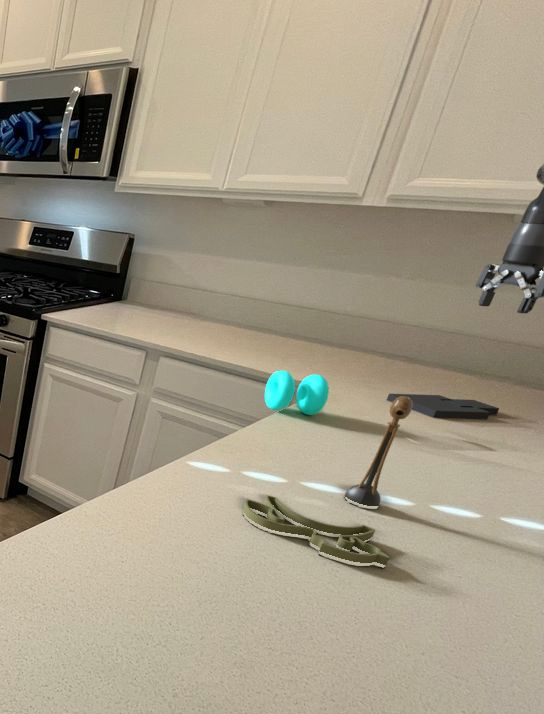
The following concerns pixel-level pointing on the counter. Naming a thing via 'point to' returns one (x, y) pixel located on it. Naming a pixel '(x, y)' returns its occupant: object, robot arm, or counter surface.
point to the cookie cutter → (344, 541)
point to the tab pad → (474, 405)
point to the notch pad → (441, 407)
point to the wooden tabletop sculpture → (380, 456)
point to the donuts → (308, 393)
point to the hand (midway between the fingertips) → (502, 309)
